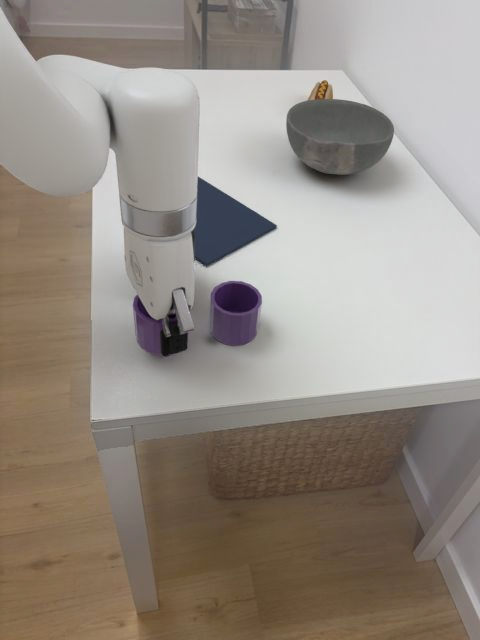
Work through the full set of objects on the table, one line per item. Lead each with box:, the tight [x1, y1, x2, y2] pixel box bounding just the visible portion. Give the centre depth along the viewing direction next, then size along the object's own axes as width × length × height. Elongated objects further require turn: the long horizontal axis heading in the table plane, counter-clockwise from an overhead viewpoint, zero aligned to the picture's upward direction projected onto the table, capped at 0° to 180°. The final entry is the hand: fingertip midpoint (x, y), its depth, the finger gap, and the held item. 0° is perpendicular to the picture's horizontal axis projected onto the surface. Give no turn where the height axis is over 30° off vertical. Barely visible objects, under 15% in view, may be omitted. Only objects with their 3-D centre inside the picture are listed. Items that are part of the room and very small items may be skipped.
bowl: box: [285, 98, 395, 176], centre depth 101 cm, size 20×20×10 cm
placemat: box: [193, 176, 278, 267], centre depth 88 cm, size 20×16×1 cm
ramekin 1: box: [132, 293, 190, 356], centre depth 64 cm, size 7×7×6 cm
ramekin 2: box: [209, 280, 263, 347], centre depth 70 cm, size 7×7×6 cm
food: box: [307, 79, 334, 101], centre depth 120 cm, size 14×6×5 cm, turn 169°
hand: (162, 330), depth 66 cm, fingers closed on ramekin 1, 6 cm apart
